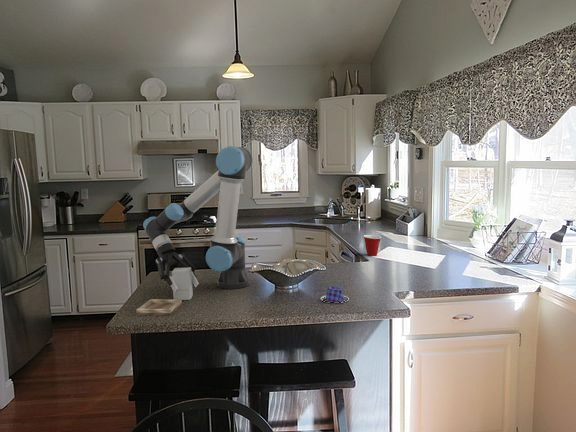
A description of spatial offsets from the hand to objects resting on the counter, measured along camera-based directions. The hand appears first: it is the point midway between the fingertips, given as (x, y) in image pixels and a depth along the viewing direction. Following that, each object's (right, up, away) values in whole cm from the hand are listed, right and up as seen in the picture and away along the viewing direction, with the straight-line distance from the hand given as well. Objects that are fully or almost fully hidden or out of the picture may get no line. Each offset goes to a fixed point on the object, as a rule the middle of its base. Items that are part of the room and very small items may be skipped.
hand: (186, 287), depth 200 cm
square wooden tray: (-8, -7, -13) cm, 16 cm away
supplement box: (-2, -5, +3) cm, 6 cm away
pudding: (+63, -5, -4) cm, 63 cm away
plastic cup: (+94, +7, +84) cm, 126 cm away
